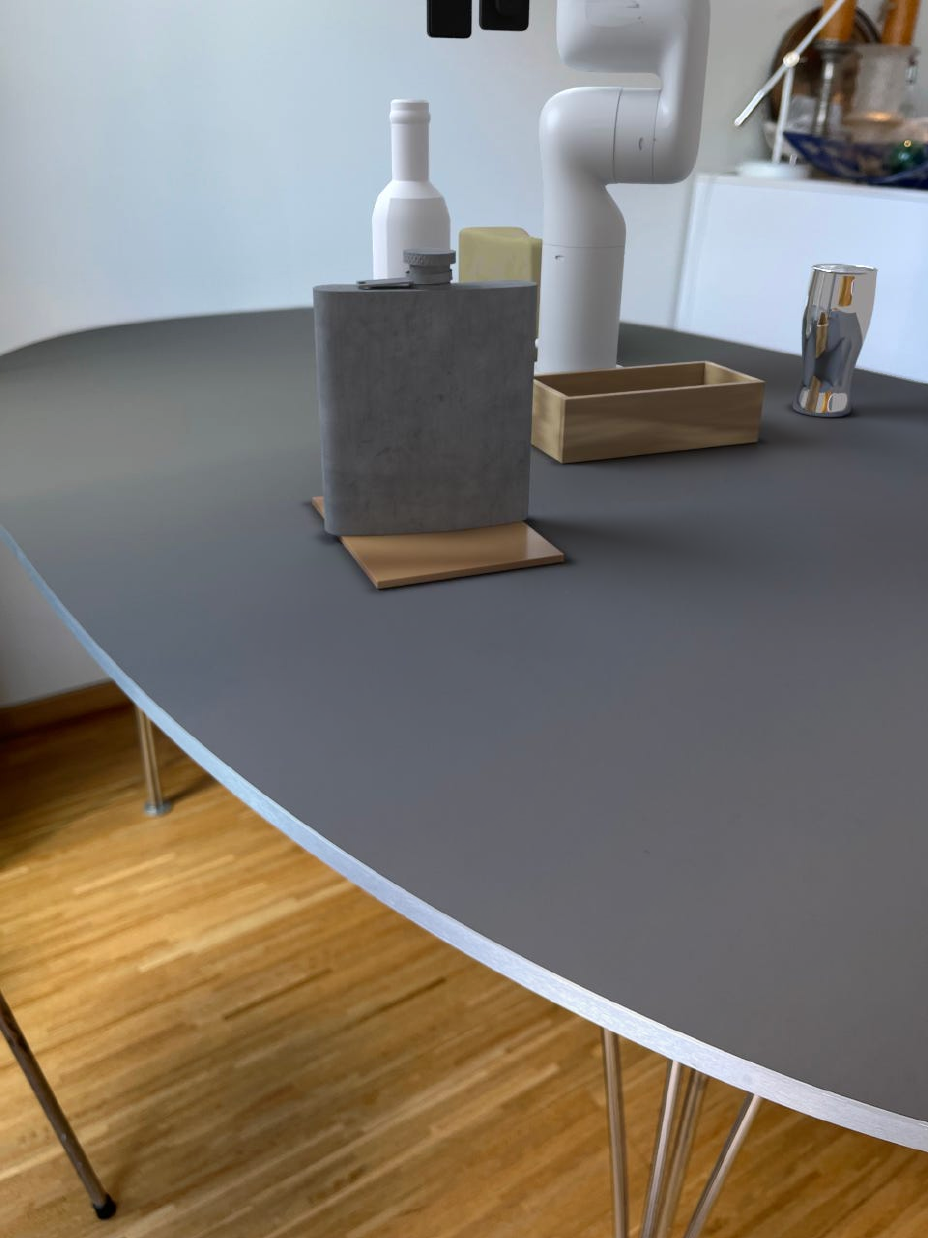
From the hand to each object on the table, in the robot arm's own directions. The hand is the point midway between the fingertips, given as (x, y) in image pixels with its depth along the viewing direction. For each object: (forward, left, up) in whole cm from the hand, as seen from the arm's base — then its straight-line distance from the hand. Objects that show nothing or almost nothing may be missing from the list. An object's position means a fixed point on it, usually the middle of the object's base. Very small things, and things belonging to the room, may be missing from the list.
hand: (474, 33), depth 69 cm
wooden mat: (+4, -5, -34) cm, 34 cm away
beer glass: (-16, +48, -34) cm, 61 cm away
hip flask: (+4, -5, -33) cm, 34 cm away
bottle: (-29, +5, -34) cm, 45 cm away
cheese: (-58, +29, -34) cm, 74 cm away
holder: (-13, +23, -34) cm, 43 cm away
